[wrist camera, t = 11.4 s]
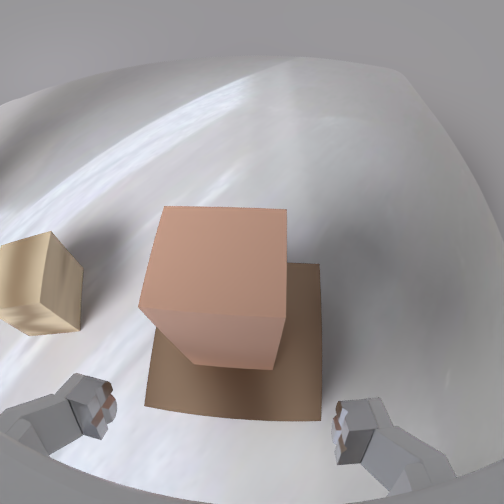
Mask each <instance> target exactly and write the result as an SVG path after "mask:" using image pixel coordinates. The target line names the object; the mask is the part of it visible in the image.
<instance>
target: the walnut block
mask: <svg viewBox="0 0 504 504" xmlns="http://www.w3.org/2000/svg"><path fill="white" fill-rule="evenodd" d="M321 404H322V320H321V289H320V267H319V264H306V263H287V285H286V319H285V323H284V328H283V332H282V336H281V340H280V344H279V347H278V351H277V355H276V359H275V363H274V367H273V370H260V369H242V368H228V367H217V366H206V365H196V364H193V363H192V362H191V361H190V360H189V359H188V358H187V357H186V356H185V355H184V354H183V353H182V352H181V351H180V350H179V349H178V348H177V347H176V346H175V345H174V344H173V343H172V342H171V341H170V340H169V339H168V338H167V337H166V336H165V335H164V334H163V333H162V332H161V331H160V330H159V329H158V328H157V327H156V331H155V337H154V343H153V349H152V355H151V361H150V368H149V375H148V382H147V389H146V396H145V404H144V406H147V407H152V408H157V409H163V410H168V411H174V412H181V413H188V414H195V415H203V416H212V417H221V418H232V419H245V420H263V421H321Z"/></svg>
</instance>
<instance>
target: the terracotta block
mask: <svg viewBox="0 0 504 504" xmlns="http://www.w3.org/2000/svg"><path fill="white" fill-rule="evenodd" d="M286 285H287V209H265V208H236V207H190V206H164V209H163V212H162V215H161V219H160V222H159V226H158V229H157V233H156V236H155V240H154V244H153V247H152V251H151V255H150V259H149V263H148V267H147V271H146V275H145V279H144V283H143V287H142V292H141V296H140V300H139V305H138V307H139V309H140V310H141V311H142V312H143V313H144V314H145V315H146V316H147V317H148V318H149V319H150V320H151V322H152V323H153V324H154V325H155V326H156V327H157V328H158V329H159V330H160V331H161V332H162V333H163V334H164V335H165V336H166V337H167V338H168V339H169V340H170V341H171V342H172V343H173V344H174V345H175V346H176V347H177V348H178V349H179V350H180V351H181V352H182V353H183V354H184V355H185V356H186V357H187V358H188V359H189V360H190V361H191V362H192V363H193V364H196V365H206V366H217V367H228V368H242V369H260V370H273V367H274V363H275V359H276V355H277V351H278V347H279V344H280V340H281V336H282V332H283V328H284V323H285V319H286Z"/></svg>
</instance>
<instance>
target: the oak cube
mask: <svg viewBox="0 0 504 504" xmlns="http://www.w3.org/2000/svg"><path fill="white" fill-rule="evenodd" d="M83 269H84V268H83V267H82V266H81V265H80V264H79V263H78V262H77V261H76V260H75V258H74V257H73V256H72V255H71V254H70V253H69V252H68V250H67V249H66V248H65V247H64V246H63V245H62V243H61V242H60V241H59V240H58V239H57V237H56V236H55V235H54V234H53V233H52V231H49V232H46V233H42V234H38V235H35V236H31V237H28V238H25V239H21V240H18V241H14V242H11V243H8V244H5V245H1V248H0V319H2V320H3V321H5V322H6V323H8V324H10V325H11V326H13V327H15V328H16V329H18V330H20V331H21V332H23V333H25V334H27V335H28V336H36V335H47V334H57V333H67V332H76V331H80V316H81V295H82V281H83Z"/></svg>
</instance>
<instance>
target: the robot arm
mask: <svg viewBox="0 0 504 504" xmlns="http://www.w3.org/2000/svg"><path fill="white" fill-rule="evenodd" d="M112 391H113V389H112V386H111V383H110V382H108V381H105V380H101V379H97V378H93V377H90V376H85V375H82V374H78V373H75V374H73V375H72V376H71V377H70V378H69V379H68V380H67V382H66V383H65V384H64V385H63V386H62V387H61V388H60V389H59V390H58V391H57V392H56V393H55V395H53V394H50V395H47V396H44V397H41V398H38V399H35V400H32V401H29V402H26V403H23V404H20V405H17V406H14V407H11V408H7V409H5V410H4V411H3V412H2V413H1V415H0V504H212V503H204V502H197V501H191V500H185V499H179V498H174V497H169V496H164V495H160V494H155V493H151V492H147V491H143V490H139V489H135V488H132V487H128V486H125V485H121V484H118V483H115V482H111V481H108V480H105V479H102V478H99V477H97V476H94V475H91V474H88V473H86V472H83V471H80V470H78V469H75V468H73V467H70V466H68V465H66V464H63V463H61V462H59V461H56V460H54V459H52V458H50V456H49V455H50V454H52V453H54V452H55V451H57V450H59V449H61V448H62V447H64V446H66V445H67V444H69V443H71V442H73V441H74V440H76V439H78V438H79V437H81V436H83V435H86V436H89V437H93V438H96V439H100V440H102V438H103V436H104V435H105V433H106V432H107V430H108V426H107V424H108V423H110V422H112V421H113V420H114V418H115V416H116V412H117V403H116V399H115V398H114V397H113V396H112V395H111V392H112ZM336 413H337V415H336V416H335V417H334V418H333V422H332V430H331V434H332V441H333V443H334V444H335V445H336V448H335V451H334V452H335V457H336V462H337V465H345V464H357V463H361V465H362V466H363V467H364V468H365V469H366V470H367V471H368V472H369V473H370V474H371V475H372V476H374V477H375V478H376V479H377V480H378V481H379V482H380V483H381V484H382V485H383V486H384V487H385V488H386V489H387V490H389V491H390V492H389V494H388V495H387V496H386V497H385V498H380V499H374V500H368V501H362V502H355V503H347V504H504V459H502V460H500V461H497V462H495V463H493V464H491V465H488V466H486V467H484V468H481V469H479V470H477V471H474V472H472V473H469V474H466V475H464V476H461V477H458V478H457V477H456V475H455V473H454V471H453V469H452V467H451V465H450V463H449V461H448V459H447V457H446V455H445V454H443V453H442V452H440V451H438V450H436V449H435V448H433V447H431V446H429V445H428V444H426V443H424V442H423V441H421V440H419V439H418V438H416V437H414V436H413V435H411V434H409V433H408V432H406V431H404V430H403V429H401V428H400V427H398V426H396V427H394V426H393V424H392V422H391V419H390V417H389V415H388V413H387V410H386V408H385V406H384V404H383V402H382V400H381V398H379V397H377V398H368V399H359V400H345V401H338V403H337V406H336ZM82 434H83V435H82Z"/></svg>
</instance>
